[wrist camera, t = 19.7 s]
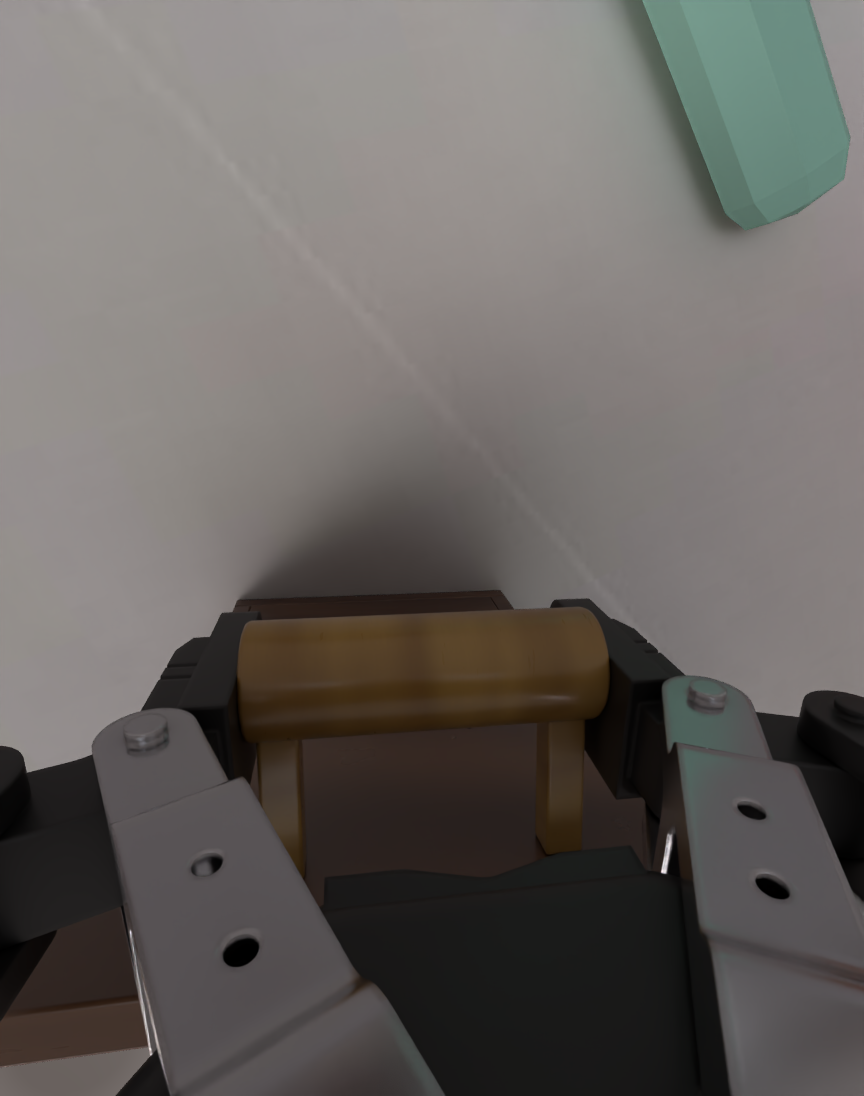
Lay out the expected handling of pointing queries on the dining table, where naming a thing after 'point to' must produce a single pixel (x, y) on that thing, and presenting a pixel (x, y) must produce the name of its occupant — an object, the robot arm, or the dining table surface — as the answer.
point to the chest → (375, 605)
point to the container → (756, 101)
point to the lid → (378, 778)
